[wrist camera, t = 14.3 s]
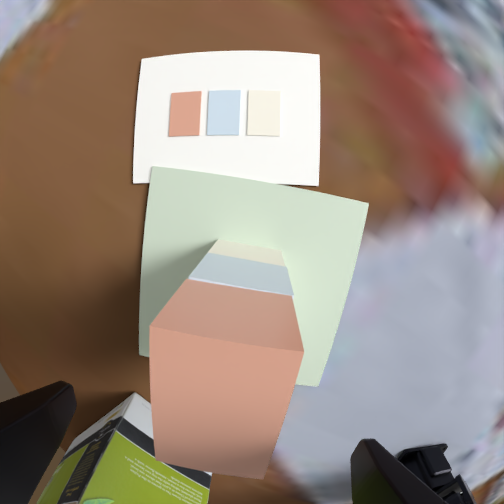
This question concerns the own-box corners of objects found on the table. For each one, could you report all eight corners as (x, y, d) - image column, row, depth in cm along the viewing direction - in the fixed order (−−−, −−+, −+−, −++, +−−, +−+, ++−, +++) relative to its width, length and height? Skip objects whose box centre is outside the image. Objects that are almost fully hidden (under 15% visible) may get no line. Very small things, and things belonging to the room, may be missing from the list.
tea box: (140, 483, 27) (107, 573, 12) (74, 436, 25) (19, 521, 11) (220, 449, 24) (198, 582, 10) (136, 386, 23) (61, 521, 8)
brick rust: (264, 412, 13) (262, 479, 9) (179, 397, 13) (155, 460, 9) (291, 295, 11) (304, 351, 7) (186, 278, 11) (149, 325, 7)
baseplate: (317, 383, 22) (317, 386, 21) (140, 352, 22) (139, 354, 21) (366, 203, 18) (368, 203, 18) (154, 166, 18) (152, 165, 18)
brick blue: (264, 365, 16) (263, 412, 13) (195, 353, 16) (178, 396, 13) (286, 266, 15) (294, 295, 11) (207, 252, 15) (188, 276, 11)
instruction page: (317, 185, 18) (318, 186, 18) (134, 183, 19) (132, 183, 18) (318, 55, 16) (319, 54, 16) (142, 60, 17) (141, 58, 16)
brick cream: (263, 334, 20) (263, 366, 16) (206, 323, 20) (194, 354, 16) (281, 250, 19) (285, 267, 15) (218, 239, 19) (206, 253, 15)
